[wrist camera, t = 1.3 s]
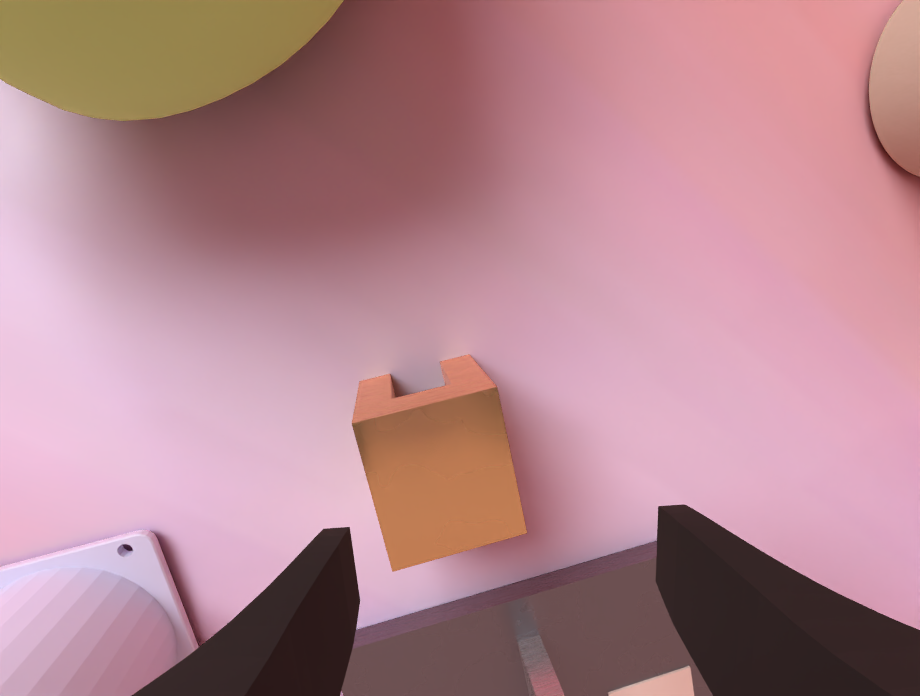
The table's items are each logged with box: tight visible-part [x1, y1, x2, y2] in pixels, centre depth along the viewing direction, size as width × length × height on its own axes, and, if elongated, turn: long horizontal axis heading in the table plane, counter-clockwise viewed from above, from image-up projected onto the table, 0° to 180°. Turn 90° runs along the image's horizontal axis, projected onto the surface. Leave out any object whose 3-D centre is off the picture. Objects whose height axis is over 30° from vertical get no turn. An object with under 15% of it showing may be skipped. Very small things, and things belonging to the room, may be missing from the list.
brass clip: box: [352, 355, 527, 571], centre depth 18 cm, size 4×5×5 cm
